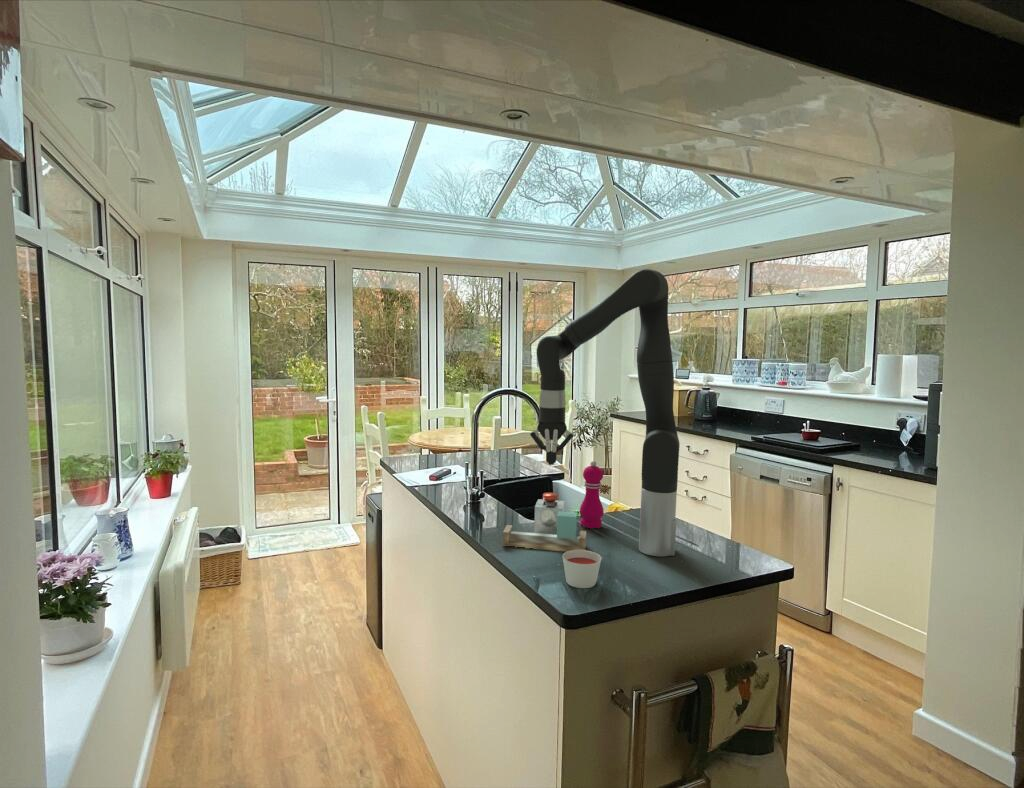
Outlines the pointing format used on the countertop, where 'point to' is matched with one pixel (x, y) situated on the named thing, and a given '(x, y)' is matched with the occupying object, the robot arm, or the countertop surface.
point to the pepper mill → (592, 497)
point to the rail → (542, 546)
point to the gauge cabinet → (547, 517)
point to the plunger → (550, 498)
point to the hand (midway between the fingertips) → (551, 464)
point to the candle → (581, 568)
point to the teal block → (566, 525)
